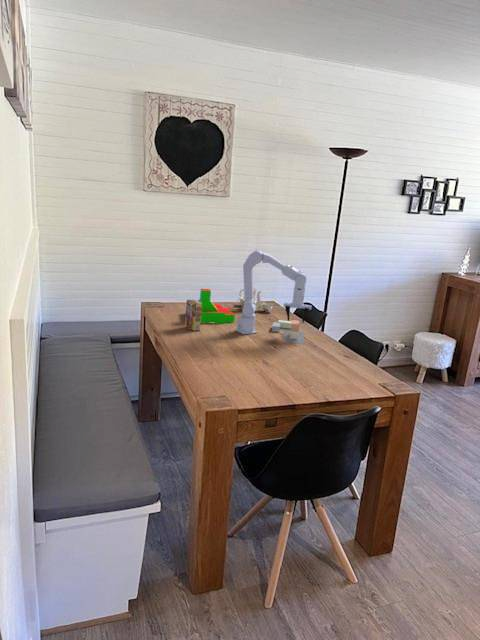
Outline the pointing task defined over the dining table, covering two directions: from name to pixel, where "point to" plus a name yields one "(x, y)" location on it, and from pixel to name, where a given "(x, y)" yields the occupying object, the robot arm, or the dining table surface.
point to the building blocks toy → (213, 309)
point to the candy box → (193, 314)
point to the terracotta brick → (295, 326)
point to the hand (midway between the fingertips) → (295, 321)
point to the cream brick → (294, 335)
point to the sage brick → (285, 324)
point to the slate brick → (275, 327)
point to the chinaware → (265, 306)
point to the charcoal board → (287, 339)
